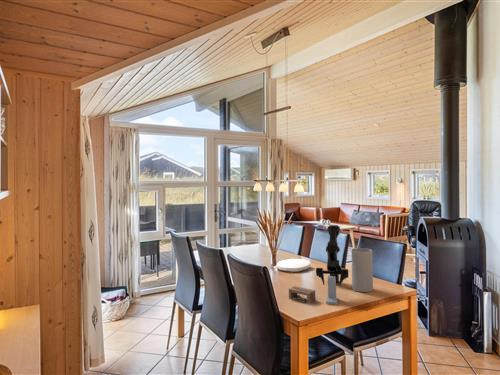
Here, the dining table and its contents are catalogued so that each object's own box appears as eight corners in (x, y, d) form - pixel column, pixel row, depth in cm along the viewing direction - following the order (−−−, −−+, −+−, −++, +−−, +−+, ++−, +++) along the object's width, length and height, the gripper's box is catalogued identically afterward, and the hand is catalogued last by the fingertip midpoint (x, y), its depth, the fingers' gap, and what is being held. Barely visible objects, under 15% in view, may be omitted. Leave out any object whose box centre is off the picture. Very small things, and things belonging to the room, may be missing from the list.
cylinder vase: (364, 285, 221) (363, 247, 221) (377, 291, 209) (376, 250, 209) (348, 288, 217) (347, 249, 216) (360, 293, 205) (360, 252, 205)
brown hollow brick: (295, 294, 206) (295, 286, 205) (315, 299, 196) (315, 290, 196) (288, 298, 200) (288, 288, 200) (309, 303, 191) (309, 293, 191)
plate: (298, 268, 250) (269, 264, 267) (299, 277, 251) (270, 272, 268) (316, 257, 272) (288, 254, 288) (317, 265, 272) (289, 261, 289)
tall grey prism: (327, 297, 200) (326, 275, 200) (337, 298, 198) (337, 276, 198) (326, 303, 189) (325, 280, 189) (337, 304, 188) (336, 281, 187)
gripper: (315, 254, 203) (314, 277, 193) (347, 255, 198) (348, 279, 188) (317, 264, 211) (315, 287, 200) (348, 265, 206) (348, 289, 195)
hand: (331, 285), depth 196 cm, fingers open, 9 cm apart
